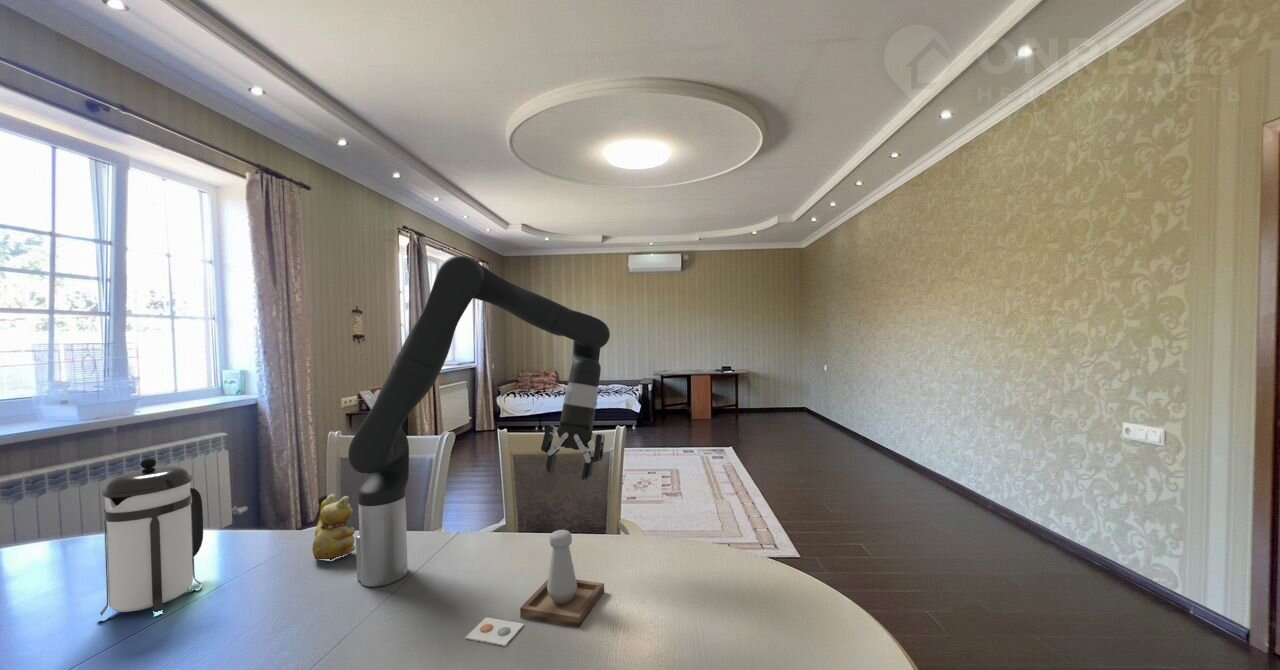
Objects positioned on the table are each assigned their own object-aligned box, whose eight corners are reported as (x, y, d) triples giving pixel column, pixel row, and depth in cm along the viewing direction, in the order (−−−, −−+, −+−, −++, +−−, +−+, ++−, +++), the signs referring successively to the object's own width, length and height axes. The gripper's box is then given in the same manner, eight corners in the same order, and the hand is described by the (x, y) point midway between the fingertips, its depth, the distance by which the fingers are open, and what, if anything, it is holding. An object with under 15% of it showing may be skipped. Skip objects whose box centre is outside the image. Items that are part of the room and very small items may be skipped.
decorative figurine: (363, 552, 119) (361, 491, 119) (334, 568, 111) (332, 503, 111) (330, 549, 121) (329, 490, 121) (300, 564, 113) (298, 501, 113)
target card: (465, 638, 83) (465, 636, 83) (486, 618, 89) (486, 616, 89) (505, 646, 81) (505, 643, 81) (524, 625, 86) (524, 622, 86)
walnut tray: (520, 617, 89) (520, 607, 89) (551, 584, 100) (550, 576, 100) (579, 627, 85) (579, 617, 85) (604, 592, 97) (604, 583, 97)
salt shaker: (571, 608, 90) (569, 539, 90) (542, 606, 91) (540, 538, 91) (581, 591, 96) (579, 527, 96) (554, 589, 97) (552, 525, 97)
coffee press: (213, 599, 99) (208, 454, 98) (96, 637, 87) (90, 472, 87) (204, 572, 110) (200, 443, 110) (100, 602, 99) (95, 458, 99)
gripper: (545, 399, 109) (531, 471, 106) (603, 408, 105) (590, 483, 102) (558, 401, 116) (546, 469, 113) (613, 409, 112) (602, 480, 109)
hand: (567, 476), depth 108 cm, fingers open, 8 cm apart
